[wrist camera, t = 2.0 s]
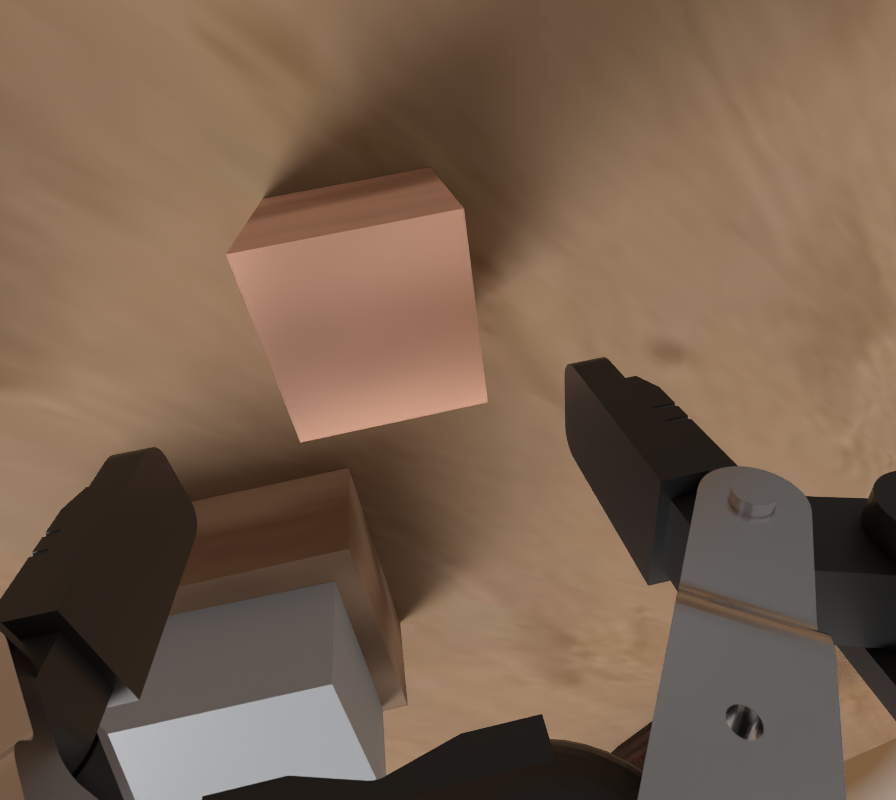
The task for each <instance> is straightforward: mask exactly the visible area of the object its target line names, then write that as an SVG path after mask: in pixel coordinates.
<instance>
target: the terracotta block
mask: <svg viewBox="0 0 896 800" xmlns="http://www.w3.org/2000/svg"><path fill="white" fill-rule="evenodd" d="M226 256H227V258H228V261H229V263H230V266H231V268H232V271H233V273H234V276H235V279H236V281H237V284H238V286H239V289H240V291H241V294H242V296H243V299H244V301H245V304H246V306H247V309H248V311H249V314H250V316H251V319H252V322H253V324H254V327H255V329H256V332H257V334H258V337H259V339H260V342H261V344H262V347H263V349H264V352H265V354H266V357H267V359H268V362H269V364H270V367H271V370H272V372H273V375H274V377H275V380H276V382H277V385H278V387H279V390H280V392H281V395H282V397H283V400H284V402H285V405H286V407H287V410H288V412H289V415H290V418H291V420H292V423H293V425H294V428H295V430H296V433H297V435H298V438H299V440H300V443H301V442H305V441H310V440H315V439H319V438H324V437H329V436H333V435H338V434H343V433H347V432H352V431H357V430H361V429H366V428H371V427H375V426H380V425H384V424H389V423H394V422H398V421H403V420H408V419H412V418H417V417H422V416H426V415H431V414H436V413H440V412H445V411H450V410H454V409H459V408H463V407H468V406H473V405H477V404H482V403H487V402H488V400H487V391H486V383H485V375H484V367H483V359H482V351H481V343H480V335H479V327H478V318H477V310H476V302H475V294H474V286H473V278H472V270H471V262H470V254H469V245H468V237H467V229H466V221H465V213H464V208H463V207H462V205H461V204H460V203H459V202H458V201H457V199H456V198H455V197H454V196H453V194H452V193H451V192H450V191H449V190H448V188H447V187H446V186H445V185H444V184H443V182H442V181H441V180H440V179H439V177H438V176H437V175H436V174H435V173H434V171H433V170H432V169H431V168H430V167H428V168H423V169H418V170H413V171H407V172H402V173H397V174H391V175H386V176H381V177H375V178H370V179H365V180H359V181H354V182H349V183H343V184H338V185H333V186H328V187H322V188H317V189H312V190H306V191H301V192H296V193H290V194H285V195H280V196H274V197H269V198H264V199H262V200H261V202H260V204H259V205H258V207H257V208H256V210H255V211H254V213H253V214H252V216H251V217H250V219H249V220H248V222H247V223H246V225H245V226H244V228H243V229H242V231H241V232H240V234H239V235H238V237H237V238H236V240H235V241H234V243H233V244H232V246H231V248H230V249H229V251H228V252H227V254H226Z"/></svg>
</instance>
